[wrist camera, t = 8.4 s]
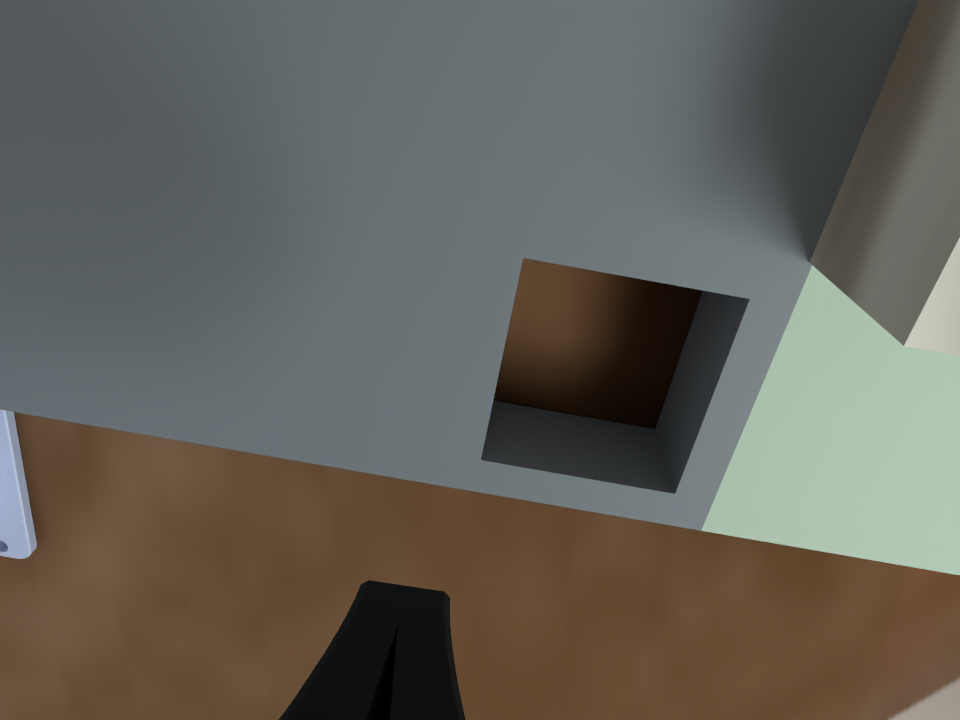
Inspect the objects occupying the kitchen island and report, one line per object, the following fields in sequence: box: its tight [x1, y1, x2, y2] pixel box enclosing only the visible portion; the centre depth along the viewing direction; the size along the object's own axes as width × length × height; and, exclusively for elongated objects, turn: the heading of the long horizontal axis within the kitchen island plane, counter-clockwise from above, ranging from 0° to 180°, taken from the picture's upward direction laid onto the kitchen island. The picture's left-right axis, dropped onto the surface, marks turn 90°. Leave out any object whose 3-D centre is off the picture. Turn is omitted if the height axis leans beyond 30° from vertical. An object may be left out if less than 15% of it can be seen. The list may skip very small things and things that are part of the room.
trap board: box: [0, 0, 960, 575], centre depth 14 cm, size 28×20×3 cm
